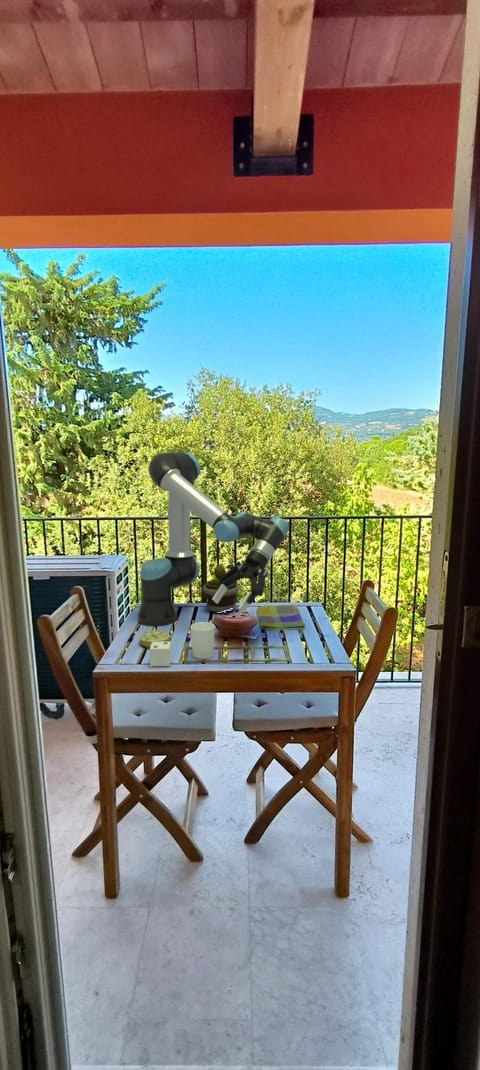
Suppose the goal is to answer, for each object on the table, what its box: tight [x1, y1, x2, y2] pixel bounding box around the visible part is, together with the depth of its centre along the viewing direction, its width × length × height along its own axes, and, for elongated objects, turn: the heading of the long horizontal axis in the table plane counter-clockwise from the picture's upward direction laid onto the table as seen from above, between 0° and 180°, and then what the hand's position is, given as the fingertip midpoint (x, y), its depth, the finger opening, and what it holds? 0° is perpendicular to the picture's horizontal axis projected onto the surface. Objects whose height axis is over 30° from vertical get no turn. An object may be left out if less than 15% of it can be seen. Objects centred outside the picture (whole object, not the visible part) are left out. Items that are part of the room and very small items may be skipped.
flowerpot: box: [202, 562, 240, 614], centre depth 221 cm, size 14×15×20 cm
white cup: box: [190, 621, 216, 660], centre depth 175 cm, size 8×8×10 cm
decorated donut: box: [138, 629, 171, 649], centre depth 186 cm, size 10×11×4 cm
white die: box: [149, 641, 173, 668], centre depth 169 cm, size 6×6×6 cm
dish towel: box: [256, 604, 306, 631], centre depth 211 cm, size 18×24×3 cm
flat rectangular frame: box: [182, 644, 291, 664], centre depth 176 cm, size 34×12×1 cm, turn 92°
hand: (227, 606), depth 180 cm, fingers open, 13 cm apart
